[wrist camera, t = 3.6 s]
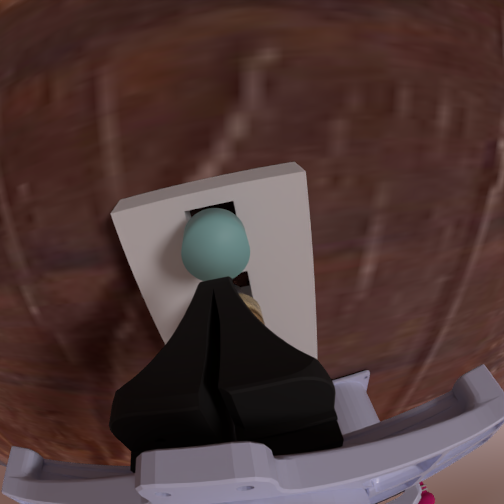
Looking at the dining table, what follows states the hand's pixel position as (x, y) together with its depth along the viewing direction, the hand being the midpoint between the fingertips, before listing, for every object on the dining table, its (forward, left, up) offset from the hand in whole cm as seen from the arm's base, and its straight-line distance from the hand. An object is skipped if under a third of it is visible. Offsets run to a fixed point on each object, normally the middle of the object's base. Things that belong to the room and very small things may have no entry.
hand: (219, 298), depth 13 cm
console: (-8, 0, -9) cm, 12 cm away
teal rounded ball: (0, 0, -8) cm, 8 cm away
